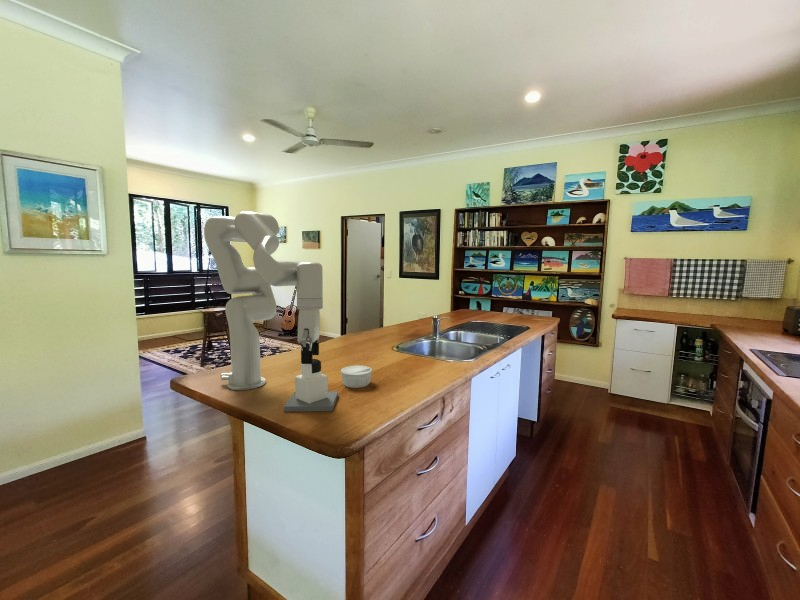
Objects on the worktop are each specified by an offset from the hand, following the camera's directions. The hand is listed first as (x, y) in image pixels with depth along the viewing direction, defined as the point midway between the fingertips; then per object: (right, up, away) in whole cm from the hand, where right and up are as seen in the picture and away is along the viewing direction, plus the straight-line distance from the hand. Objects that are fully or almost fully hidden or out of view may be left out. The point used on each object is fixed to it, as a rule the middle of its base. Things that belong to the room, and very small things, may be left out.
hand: (310, 359), depth 109 cm
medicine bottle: (0, -13, +1) cm, 13 cm away
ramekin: (+12, -12, +20) cm, 26 cm away
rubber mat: (0, -14, +1) cm, 14 cm away
